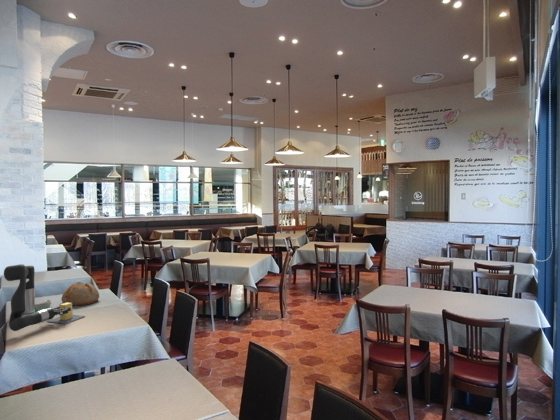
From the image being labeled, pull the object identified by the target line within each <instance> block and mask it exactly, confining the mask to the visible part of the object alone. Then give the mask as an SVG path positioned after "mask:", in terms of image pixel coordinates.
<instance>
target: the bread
mask: <svg viewBox="0 0 560 420" xmlns="http://www.w3.org/2000/svg"><path fill="white" fill-rule="evenodd" d="M99 298H100V293H99V290H98V289H97V287H95V286H94V285H93V283H89V282H88V283H87V282H86V283H83V282H80V281H78V282H76V283H72V284H71V285H70V286H68V287H67V288H66V289H65V291H64V292H63V293H62V295H61V302H62V304H63V303H66V302H68V303H72V306H85V305H90V304H94V303H95V302H97V301H99Z"/></svg>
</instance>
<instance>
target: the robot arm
mask: <svg viewBox="0 0 560 420" xmlns="http://www.w3.org/2000/svg"><path fill="white" fill-rule="evenodd" d="M35 273H36V272H35V267H34V265H25V264H21V263H20V264H15V265H13V264H12V265H9V266H6V267H5V268H4V270H3V276H4V279H5V280H6V281H8V282H14V281H19V284H18V286H17V288H16V290H14V293H13V294H12V296H11V300H10V309H11V310H10V311H11V312H10V315H9V319H8V327H9V329H10V330H11V331H13V332H18V331H20V330H22V329H25V328H27V327H30V326H34V325H37V324H41V323H44V322H47V321H48V320H51V319H54V317H55V316H58V315H59V316H60V315H63V314H66V313H68V311H71V307H69V308H66V309H62V308H61V309H60V305H59V306H56V307H50V308H46V309H43V310H39V311H37V312H35V309H34V304H36V296H35V294H36V291H35V290H36V289H35ZM27 280H28V281H27ZM60 310H61V311H60Z"/></svg>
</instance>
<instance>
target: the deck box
mask: <svg viewBox="0 0 560 420" xmlns="http://www.w3.org/2000/svg"><path fill="white" fill-rule="evenodd" d="M59 306H60V309H61V308H62V309H66V308H69V307H71V311H68V313H66V314H63V315H59V317H60V320H67V319H70V318H72V315H73V305H72V303H68V302H66V303H63V302H62V303H61V304H60V303H59ZM60 311H61V310H60Z"/></svg>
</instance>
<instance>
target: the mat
mask: <svg viewBox="0 0 560 420" xmlns="http://www.w3.org/2000/svg"><path fill="white" fill-rule="evenodd" d="M85 317H86V315H78V314H72V318H70V319H67V320H60V316H58V317H55V318H54V317H53V319H50V320H47V321H46V323H50V322H52V323H51V324H59V323H61V325H68V324H70V323H72V322H76V321H77V320H78V321H79V320H81V319H84V318H85Z"/></svg>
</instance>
